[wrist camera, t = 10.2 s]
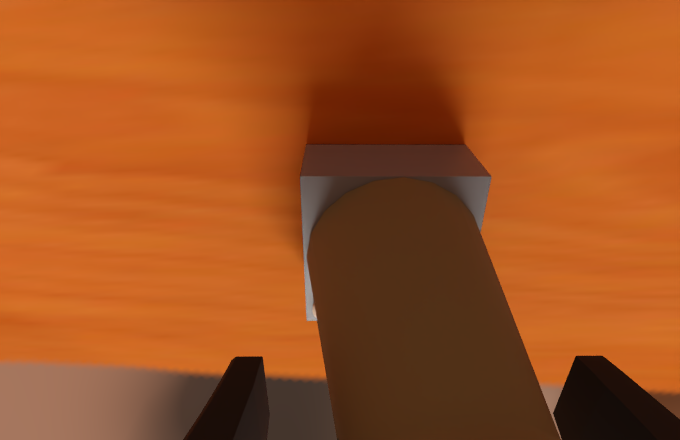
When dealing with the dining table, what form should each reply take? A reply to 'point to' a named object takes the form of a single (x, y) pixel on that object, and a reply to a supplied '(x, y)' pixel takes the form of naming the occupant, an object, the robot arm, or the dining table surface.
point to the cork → (418, 322)
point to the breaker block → (378, 164)
